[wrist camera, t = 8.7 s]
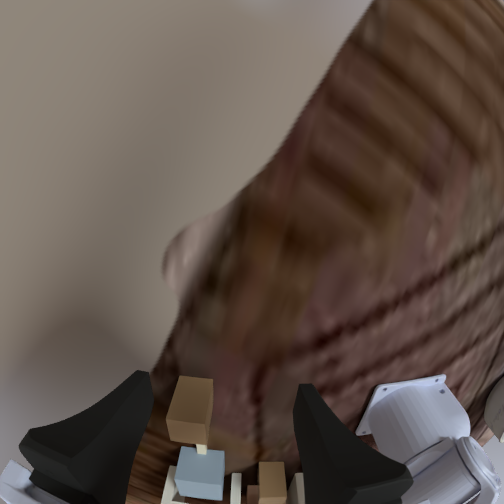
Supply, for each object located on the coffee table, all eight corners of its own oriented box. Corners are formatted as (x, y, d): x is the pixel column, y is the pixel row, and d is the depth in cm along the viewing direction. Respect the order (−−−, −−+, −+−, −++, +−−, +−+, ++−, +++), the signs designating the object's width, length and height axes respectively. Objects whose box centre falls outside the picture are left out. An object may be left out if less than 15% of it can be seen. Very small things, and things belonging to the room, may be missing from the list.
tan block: (291, 461, 27) (296, 496, 22) (278, 497, 30) (280, 524, 25) (250, 461, 27) (250, 497, 21) (245, 497, 30) (245, 525, 25)
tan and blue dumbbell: (224, 379, 23) (218, 425, 18) (224, 469, 27) (221, 503, 22) (169, 373, 23) (153, 416, 18) (185, 465, 27) (179, 498, 22)
